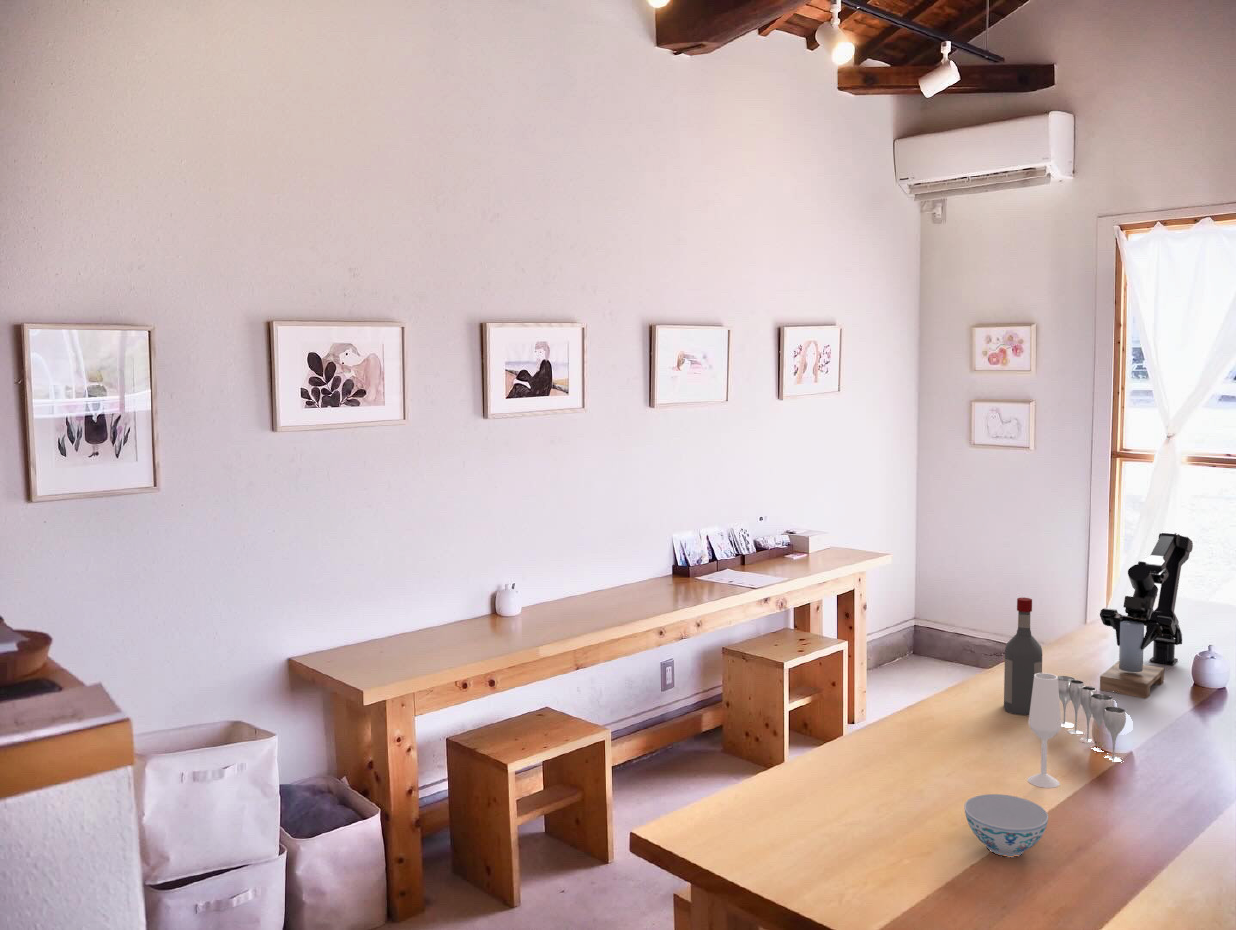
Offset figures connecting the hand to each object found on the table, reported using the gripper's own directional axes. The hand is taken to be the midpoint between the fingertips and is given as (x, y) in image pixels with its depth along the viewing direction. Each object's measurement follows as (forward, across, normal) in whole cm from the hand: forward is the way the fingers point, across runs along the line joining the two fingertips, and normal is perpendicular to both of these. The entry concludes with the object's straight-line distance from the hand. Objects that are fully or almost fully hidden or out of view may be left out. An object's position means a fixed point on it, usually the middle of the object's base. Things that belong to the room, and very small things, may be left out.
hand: (1129, 647), depth 285 cm
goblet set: (+42, +5, -25) cm, 48 cm away
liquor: (+34, -16, -17) cm, 41 cm away
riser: (+6, 0, +11) cm, 12 cm away
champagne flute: (+63, +6, -47) cm, 79 cm away
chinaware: (+88, +12, -72) cm, 115 cm away
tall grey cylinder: (+4, 0, +6) cm, 7 cm away
